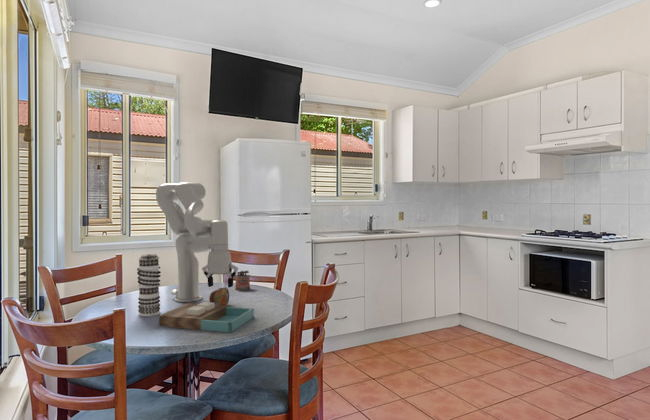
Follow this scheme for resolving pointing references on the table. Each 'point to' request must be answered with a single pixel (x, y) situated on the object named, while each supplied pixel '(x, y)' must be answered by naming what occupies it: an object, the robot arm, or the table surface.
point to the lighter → (242, 280)
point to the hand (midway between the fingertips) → (220, 286)
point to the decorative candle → (148, 285)
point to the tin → (220, 296)
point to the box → (229, 320)
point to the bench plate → (190, 317)
